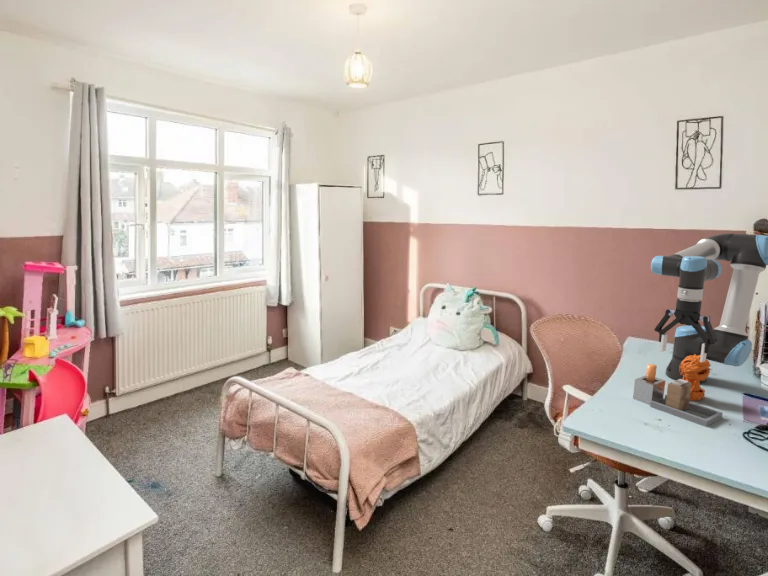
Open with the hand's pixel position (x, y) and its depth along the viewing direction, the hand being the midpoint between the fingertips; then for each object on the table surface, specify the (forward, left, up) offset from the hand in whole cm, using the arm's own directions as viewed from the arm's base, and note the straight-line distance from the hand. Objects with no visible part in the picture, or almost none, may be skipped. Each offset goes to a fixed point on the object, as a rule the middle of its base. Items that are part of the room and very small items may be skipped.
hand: (682, 356), depth 170 cm
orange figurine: (-16, -1, -21) cm, 26 cm away
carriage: (0, +1, -21) cm, 21 cm away
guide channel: (0, +3, -21) cm, 21 cm away
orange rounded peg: (0, -10, -13) cm, 16 cm away
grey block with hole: (0, -10, -21) cm, 23 cm away
